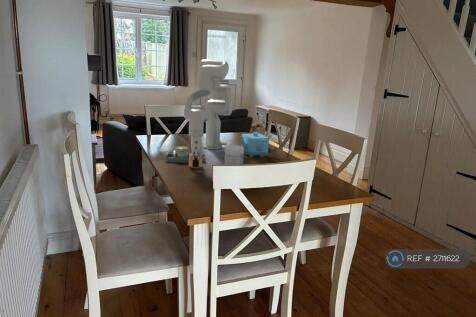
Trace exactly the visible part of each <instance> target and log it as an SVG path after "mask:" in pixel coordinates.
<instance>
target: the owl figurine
mask: <svg viewBox="0 0 476 317" xmlns="http://www.w3.org/2000/svg"><path fill="white" fill-rule="evenodd" d="M253 132H258V133H259V134H262V135H264V136H266V128H265V127H264V125H263V123H262V122H261V121H258V122H256V123H253V124H252V125H251V128H250V130H249V133H248V134H253Z"/></svg>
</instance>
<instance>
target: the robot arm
mask: <svg viewBox="0 0 476 317" xmlns="http://www.w3.org/2000/svg"><path fill="white" fill-rule="evenodd" d="M229 71H230V66H229V63H228V61H227V60H218V59H201V60H200V61H199V71H198V78H197V83H196V88H195V90H193V91H192V92H191V93H190V94H189V95H188V97H187V98H186V101H185V103H184V104H185V105H184V108H183V109H184V110H183V118H184V119H185V120H187V121H188V136H189V137H190V146H191V147H190V149H191V153H192V154H193V167H199V160H198V155H199V154H200V155H201V154H202V147H203V148H204V149H206V150H221V149H223V146H228V142H227V141H226V142H225V141H221V123H222V122H221V120H220V117H219V116H231V114H232V111H233V88H232V86H230V84H223V83H221V82H222V81H224V80H225V79H226V78H227V77H226V76H228V74H229ZM204 97H207V98H209V100H206V102H205V105H204V106H205V107H202V106H192V105H193V104H194V102H195V101H196V100H199V99H201V98H202V99H203V98H204ZM204 122H205V144H203V145H202V137H204ZM194 153H195V154H194ZM197 153H199V154H197Z"/></svg>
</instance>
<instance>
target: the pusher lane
mask: <svg viewBox="0 0 476 317" xmlns="http://www.w3.org/2000/svg"><path fill="white" fill-rule="evenodd" d="M189 154H190V153H188V158H180V157H174V152H173V153H169V151H166V154H165V163H189ZM201 154H202V164H203V163H206V155H205V153H201Z"/></svg>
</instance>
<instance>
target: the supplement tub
mask: <svg viewBox="0 0 476 317" xmlns="http://www.w3.org/2000/svg"><path fill="white" fill-rule="evenodd" d="M244 155H245V152H244V148H243V147H242V145H236V144H235V145H232V144H231V145H225V149H224V166H225V165H243V166H244Z"/></svg>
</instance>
